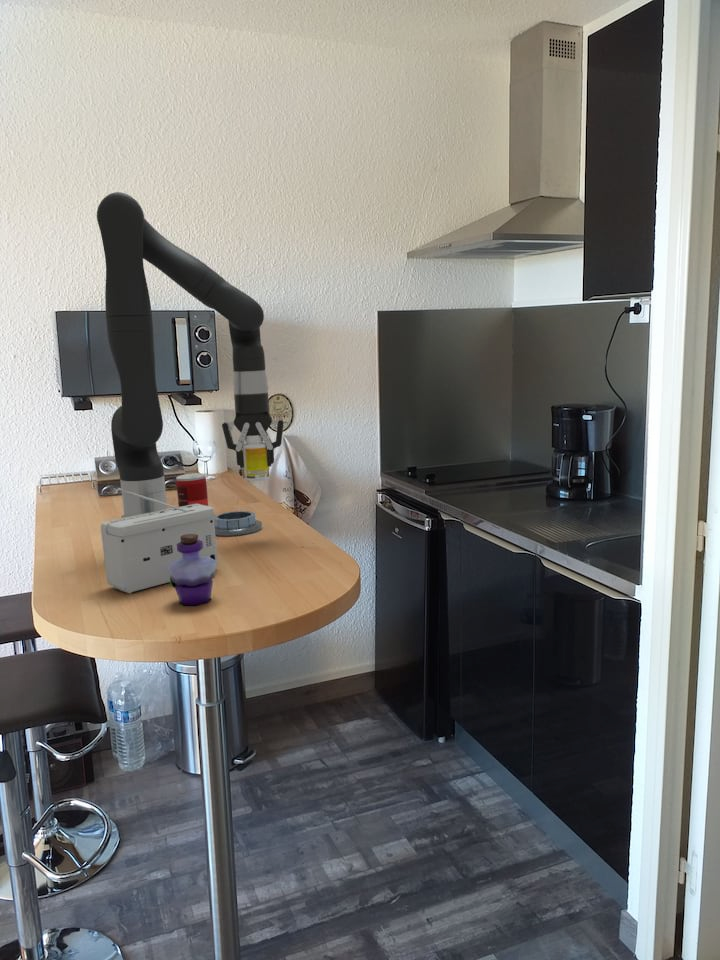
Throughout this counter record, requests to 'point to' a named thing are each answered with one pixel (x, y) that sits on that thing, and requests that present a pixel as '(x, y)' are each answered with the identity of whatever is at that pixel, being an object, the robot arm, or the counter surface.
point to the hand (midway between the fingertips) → (256, 466)
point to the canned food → (192, 489)
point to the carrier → (236, 523)
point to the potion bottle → (192, 572)
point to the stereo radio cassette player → (153, 543)
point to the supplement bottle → (255, 459)
